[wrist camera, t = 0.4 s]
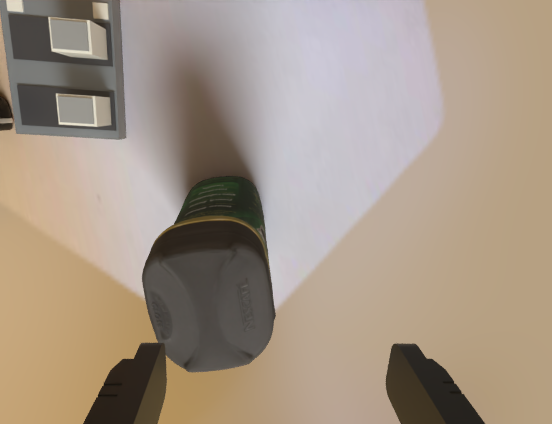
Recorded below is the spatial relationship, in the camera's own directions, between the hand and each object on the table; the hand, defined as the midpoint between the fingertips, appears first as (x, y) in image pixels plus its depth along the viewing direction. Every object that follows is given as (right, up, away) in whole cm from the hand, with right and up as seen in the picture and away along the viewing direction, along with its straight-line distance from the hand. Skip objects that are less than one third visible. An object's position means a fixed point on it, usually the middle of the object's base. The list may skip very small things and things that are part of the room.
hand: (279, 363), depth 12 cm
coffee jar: (-5, +5, +26) cm, 27 cm away
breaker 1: (-16, +20, +18) cm, 31 cm away
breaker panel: (-19, +19, +20) cm, 33 cm away
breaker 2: (-16, +14, +19) cm, 29 cm away
